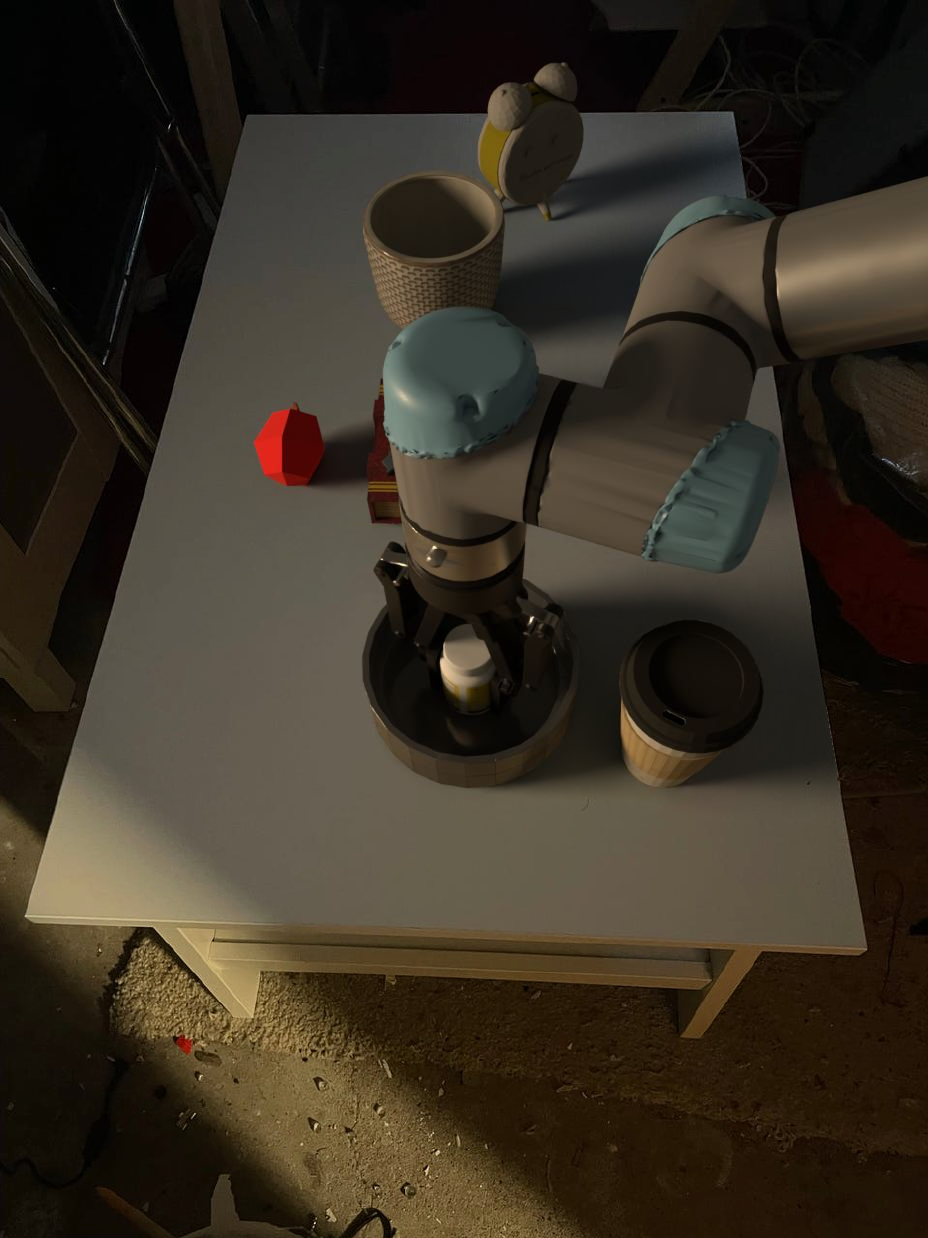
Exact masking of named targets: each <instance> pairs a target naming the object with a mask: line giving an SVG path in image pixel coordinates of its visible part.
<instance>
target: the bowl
mask: <svg viewBox="0 0 928 1238" xmlns="http://www.w3.org/2000/svg"><path fill="white" fill-rule="evenodd" d="M522 583H523V585H524V587H525V588H526V590H527V592H528V600H530V601H531V602H533V603H535V604H536V605H540V606H542V607H544V608H545V607H546V606H547V605H548V604H550V603H555V604H557V603H556V601H554V599H552V597H551V596H550V595H549V594H548V593H546V592H545V591H544V590H542V589H541V588H540V587H538V586H536V585H535V584H533V583H532V582H531V581H530V580H528V579H525V578H523V579H522ZM417 596H418V604H419V614H418V616H420V617H422V618H424V614H425V611H426V609H427V607H428V602H426V601H425V600H424V599H423V598H422V597H421V596H420V595H419V593H418V592H417ZM513 621H514V623H515V626H516V629H517V631H518V634H519V637H520V640H521V642H522V645H523V648H524V650H525V643H526V641H527V637H525V636H524V635H523V633H524V631H525V629H526V628H525V627H524V625H523V622H524V621H523V619H522V618H521V617H520V616H519V617H517V618H515V619H513ZM464 624H471V623H469V622H467V620H465V619H463V618H460V617H456V616H453V615H450V614H447V613H446V614H445V616H444V619H443V621H442V622H441V624H440V626H439V628H438V631H439V629H440V627H441V626H442V627H445V628H447V629H450V631H452V630H453V629H454V628H456V627H458V626H460V625H464ZM366 635H367V636H366V638H365V642H364V646H363V649H362V655H361V669H362V670H361V671H362V672H361V673H362V674H361V675H362V684H363V689H364V691H365V694H366V699H367V701H368V704H369V708H370V710H371V714H372V716H373V720H374V723H375V725H376V729H377V732H378V734H379V736H380V737H381V739H382V740H383V742H384V743H385V745H386V746H387V748H388V750H390V752H391V754H392V755H393V756H394V757H396V759H397V760H399V761H400V762H401V763H402V764H404V765H405V766H406V767H407V768H408V769H410V771H412V772H413V773H415V774H417V775H419V776H421V777H424V778H426V779H428V780H430V781H433V782H435V783H437V784H440V785H445V786H451V787H456V788H457V787H458V788H463V789H476V788H485V787H496V786H499V785H501V784H505V783H508V782H510V781H513V780H516V779H519V778H521V777H523V776H525V775H526V774H527V773H529V772H530V771H531V770H533V769H535V768H536V767H538V766H539V765H540V764H541V763H543V762H544V761H545V760H546V759H547V758H548V757H549V756H550V754H551V753H552V752H553V751H554V750H555V748H556V747H558V745H559V744H560V743H561V741H562V739H563V737H564V735H565V733H566V730H567V728H568V726H569V724H570V722H571V719H572V716H573V711H574V707H575V706H574V705H575V701H576V697H577V691H578V685H579V680H580V679H579V678H580V671H581V657H580V650H579V646H578V640H577V639H578V638H577V636H576V633H575V632H574V629H573V628H572V625H571V624H570V621H569V619H568V618H567V615H566V614H565V612H564V613H563V616H562V618H561V620H560V622H559V624H558V626H557V628H556V631H555V632H554V635H553V639H552V647H551V656H550V664H549V666H548V668H547V671H546V673H545V675H544V677H543V679H542V681H541V683H540V685H539V688H538V690H537V691H535V692H533V691H530V690H528V689H526V688H525V687H524V686H523V684H522V686H521V688H520V690H519V692H518V695H517V697H515V698H513V697H510V696H509V698H508V700H507V702H506V704H505V706H504V708H503V710H502V712H501V714H500V716H497V715H495V714H492V713H491V708H490V709H489V710H488V711H486V712H484V713H482V714H478V715H465V714H462V713H459V712H457V711H455V710H454V709H453V708H452V707H451V706H450V705H449V704H448V702H447V701H446V698H445V695H444V689H443V684H442V686H441V688H440V690H439V691H438V690H436V689H434V688H431V684H430V677H429V670H428V663H427V662H425V661H423V660H421V658H420V657H419V653H418V648H417V647H416V646H415V645H414V644H413V642H414V639H413V638H411V637H410V636H408V635H407V636H406V637H405V638H401V637H398V636H396V635H395V634H394V633H393V632H392V628H391V623H390V618H389V612H388V607H387V603H386V604H385V605H384V606H383V607H382V608H381V609H380V610H379V612H378V614H377V616H376V618H375V619H374V620H373V623H372V624H371V626H370V628H369V629H368V632H367V634H366Z"/></svg>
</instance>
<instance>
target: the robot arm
mask: <svg viewBox="0 0 928 1238" xmlns="http://www.w3.org/2000/svg"><path fill="white" fill-rule="evenodd" d="M622 334H623V335H622V338H621V339H620V341H619V344H618V347H617V349H616V351H615V354H614V356H613V359H612V362H611V364H610V368H609V369H608V372H607V374H606V378H605V381H604V383H603V386H602V387H601V386H600V387H599V386H593V385H590V384H585V383H581V382H578V381H573V380H569V379H565V378H561V377H558V376H553V375H549V374H545V373H540V366H539V365H538V364H537V355H536V351H535V347H534V344H533V343H532V341H531V339H530V338H529V336H528V335H527V334H526V332H525V330H523V329H522V328H520V327H519V326H515V325H514V324H513V323H511V322H510V321H509V320H508V319H507V318H506V317H505V316H504V315H503V314H501V313H499V312H497V311H494V310H492V309H491V310H488V309H483V308H478V307H467V306H460V307H450V308H445V309H441V310H437V311H434V312H431V313H429V314H426V315H424V316H422V317H420V318H418V319H416V320H415V321H414V322H412V323H411V324H409V325H408V326H407V327H406V328H405V329H401V331H400V332H399V334H398V335H397V336H396V338H395V339H394V340H393V341H392V343H391V344H390V345H389V346H388V349H387V351H386V355H385V358H384V363H383V367H382V378H383V386H384V402H385V411H384V416H385V417H384V420H385V421H384V423H383V424H384V429H385V432H386V437H388V439H389V442H390V447H391V452H392V458H393V464H394V469H395V475H396V480H397V486H398V487H397V490H398V496H399V497H398V498H399V506H400V513H401V519H402V524H401V526H402V531H403V538H404V547H403V546H402V544H400V543H398V542H397V541H389V542H388V544H387V546H386V547H385V548H384V551H383V552H382V554H381V556H380V558H379V559H378V561H377V562H376V563H375V566H374V567H373V573H374V575H375V576H376V577H377V579H378V580H379V582H380V583H381V585H382V586H383V592H384V595H385V602H386V604H387V607H388V612H389V618H390V623H391V628H392V632H393V633H394V634H395V635H396V636H398V637H401V638H405V637H406V636H407V635H408V636H410V637H411V638H413V639H414V642H413V644H414V645H415V646H416V647H417V648H418V653H419V657H420V658H421V660H423V661H425V662H427V663H428V670H429V677H430V684H431V688H434V689H436V690H438V691H439V690H440V688H441V686H442V684H443V682H442V674H441V667H440V657H441V653H442V650H443V646H444V641H445V638H446V637H447V635H448V634H449V632H450V629H447V628H445V627H442V626H441V627H440V629H439V631H438V628H439V626H440V624H441V622H442V621H443V619H444V616H445V614H446V613H447V614H450V615H453V616H456V617H460V618H463V619H465V620H467V622H469V623H471V625H472V627H473V630H474V632H475V634H476V636H477V638H478V639H479V640H483V641H484V642H485V644H486V647H487V649H488V651H489V654H490V656H491V658H492V661H493V663H494V665H495V668H496V672H495V674H494V676H493V678H492V680H491V713H492V714H495V715H497V716H500V714H501V712H502V710H503V708H504V706H505V704H506V702H507V700H508V698H509V696H510V697H513V698H515V697H517V695H518V692H519V690H520V688H521V686H522V684H523V686H524V687H525V688H526V689H528V690H530V691H533V692H535V691H537V690H538V688H539V685H540V683H541V681H542V679H543V677H544V675H545V673H546V671H547V668H548V666H549V664H550V656H551V647H552V639H553V635H554V632H555V631H556V628H557V626H558V624H559V622H560V620H561V618H562V616H563V613H564V614H565V609H564V608H563V606H561V605H560V604H557V603H556V602H555V603H556V604H555V603H550V604H548V605H547V606H546V607H545V608H544V607H542V606H540V605H536V604H535V603H533V602H531V601H530V600H528V592H527V590H526V588H525V587H524V585H523V583H522V579H524V571H525V558H526V557H525V554H526V537H527V530H528V529H527V528H528V527H527V526H528V525H531V526H534V527H537V528H542V529H544V530H548V531H551V532H555V533H558V534H561V535H565V536H569V537H572V538H576V539H579V540H583V541H585V542H589V543H593V544H596V545H599V546H603V547H607V548H610V549H614V550H617V551H621V552H624V553H627V554H630V555H634V556H638V557H641V558H642V559H643V560H645V561H646V562H652V563H654V562H655V563H657V562H662V563H666V564H670V565H676V566H680V567H684V568H689V569H694V570H698V571H704V572H708V573H713V574H724V573H729V572H732V571H733V570H735V569H736V568H738V567H739V566H740V565H741V564H742V563H743V561H745V559H746V557H747V555H748V554H749V552H750V549H751V548H752V545H753V543H754V541H755V538H756V536H757V533H758V531H759V529H760V525H761V523H762V519H763V517H764V514H765V511H766V508H767V505H768V502H769V499H770V496H771V493H772V489H773V486H774V482H775V477H776V474H777V471H778V465H779V462H780V461H779V460H780V452H781V451H780V449H781V443H780V440H779V437H778V436H777V435H776V434H775V433H774V432H773V431H771V430H769V429H765V428H764V427H761V426H758V425H756V424H753V423H751V421H750V420H749V419H747V415H748V410H749V405H750V400H751V396H752V391H753V388H754V384H755V381H756V375H757V373H758V370H760V369H764V368H770V367H771V368H772V367H776V366H777V367H778V366H782V365H788V364H794V363H799V362H805V361H807V360H813V359H818V358H825V357H830V356H837V355H844V354H849V353H854V352H861V351H862V352H863V351H867V350H873V349H879V348H885V347H891V346H898V345H903V344H909V343H916V342H922V341H928V175H927V176H924V177H920V178H917V179H913V180H909V181H905V182H902V183H898V184H895V185H890V186H887V187H882V188H879V189H876V190H872V191H868V192H865V193H861V194H857V195H854V196H850V197H849V196H848V197H846V198H843V199H839V200H834V201H831V202H827V203H823V204H820V205H815V206H813V207H809V208H804V209H802V210H797V211H793V212H791V213H788V214H787V213H786V214H783V215H781V216H776V215H775V214H774V213H773V212H772V211H771V210H770V209H769V208H767V207H766V206H765V205H763V204H762V203H759V202H758V201H756V200H754V199H751V198H747V197H746V198H740V197H735V196H734V197H733V196H728V195H726V194H719V195H718V194H717V195H712V196H707V197H704V198H702V199H698V200H696V201H694V202H692V203H689V204H688V205H687V206H685V207H684V208H683V209H681V210H680V211H679V212H678V213H677V214H676V215H675V216H674V217H673V218H672V219H671V221H670V222H669V223H668V224H667V226H666V227H665V229H664V230H663V233H662V235H661V237H660V239H659V241H658V243H657V244H656V247H655V248H654V250H653V252H652V253H651V255H650V256H649V257H648V260H647V262H646V264H645V267H644V270H643V272H642V274H641V276H640V284H639V287H638V291H637V294H636V297H635V300H634V303H633V306H632V309H631V312H630V315H629V317H628V320H627V323H626V327H625V328H624V332H623V333H622ZM746 419H747V420H746ZM417 592H418V593H419V595H420V596H421V597H422V598H423V599H424V600H425V601H426V602H428V607H427V609H426V611H425V614H424V618H422V617H420V616H418V614H419V604H418V596H417ZM519 616H520V617H521V618H522V619H523V621H524V622H523V625H524V627H525V628H526V629H525V631H524V633H523V635H524V636H525V637H527V641H526V643H525V650H524V648H523V645H522V642H521V640H520V637H519V634H518V631H517V629H516V626H515V623H514V621H513V619H515V618H517V617H519Z"/></svg>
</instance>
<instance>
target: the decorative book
mask: <svg viewBox="0 0 928 1238" xmlns="http://www.w3.org/2000/svg"><path fill="white" fill-rule="evenodd" d="M384 411H385V402H384V386H383V377H381V378H380V381H379V390H378V399H374V401H373V412H372V418H373V425H374V434H373V443H372V452H369V453H368V455H367V463H366V476H367V481H368V486H367V487H368V488H367V496H366V503H367V506H368V511H369V515H370V521H371V524H388V525H390V524H395V525H397V524H398V525H402V519H401V513H400V506H399V498H398V497H399V496H398V490H397V487H398V486H397V480H396V475H395V469H394V464H393V458H392V452H391V447H390V442H389V439H388V437H386V432H385V429H384V424H383V423H384V421H385V420H384V417H385V416H384Z"/></svg>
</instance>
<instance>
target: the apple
mask: <svg viewBox="0 0 928 1238" xmlns="http://www.w3.org/2000/svg"><path fill="white" fill-rule="evenodd" d="M291 405H292V408H286V409H283V410H282V409H281V410H277V411H275V412H272V413H271V415H270V417H269V418H268V420H267V421H266V423H264V426H263V427H262V429H261V431H259V433H258V435H257V437H256V438H255V440H254V441H253V445H254V448H255V451H256V454H257V456H258V459H259V462H260V466H261V469H262V472H263V475H264V476H265V477H267V478H270V479H271V480H273V481H275V482H276V483H279V484H281V485H283V486H286V487H298V486H299V487H302V486H303V487H304V486H307V485H308V483H309V482H310V480H311V478H312V477H313V475H314V474H315V472H316V470H317V468H318V467H319V465H320V463H321V461H322V459H323V455H324V452H325V450H326V446H325V443H324V439H323V436H322V432H321V428H320V424H319V420H318V416H317V415H314V414H312V413H307V412H305V411H301V410H300V407H299V405H298V402H296V401H293V402H292V404H291Z"/></svg>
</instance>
